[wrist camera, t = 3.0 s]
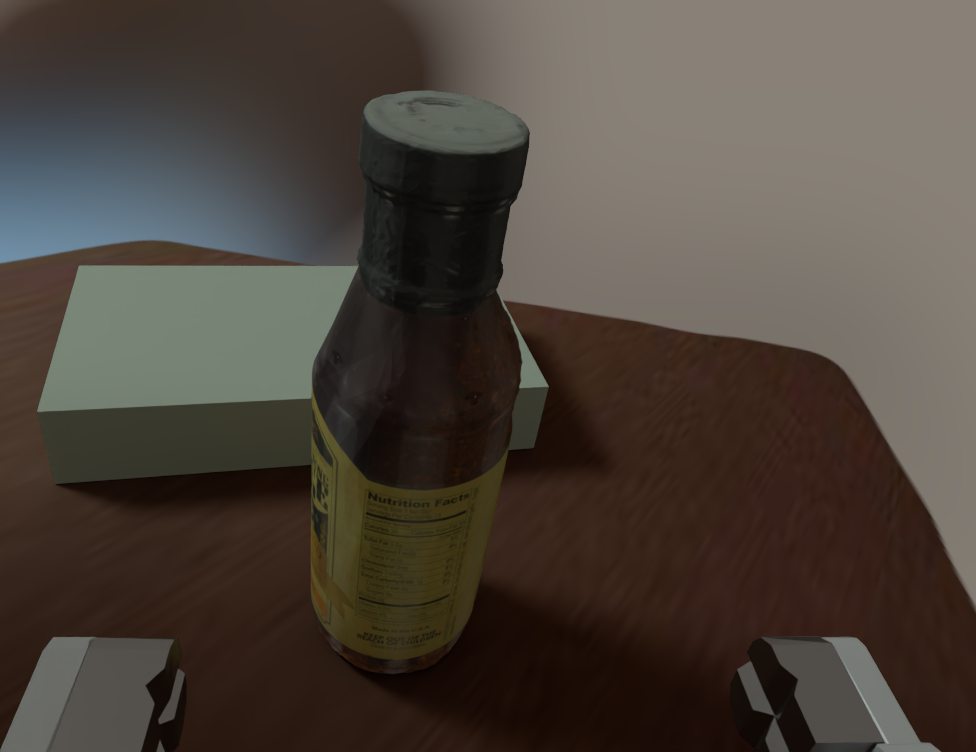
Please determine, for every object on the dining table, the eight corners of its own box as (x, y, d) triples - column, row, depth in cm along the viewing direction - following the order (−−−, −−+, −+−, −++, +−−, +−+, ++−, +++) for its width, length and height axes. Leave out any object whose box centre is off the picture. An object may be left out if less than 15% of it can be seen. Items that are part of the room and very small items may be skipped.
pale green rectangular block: (54, 483, 33) (36, 411, 30) (91, 330, 42) (79, 265, 40) (533, 448, 39) (548, 386, 37) (474, 322, 49) (484, 266, 46)
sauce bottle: (347, 536, 33) (376, 53, 21) (486, 577, 32) (594, 102, 21) (277, 664, 28) (267, 115, 16) (442, 717, 27) (553, 183, 15)
